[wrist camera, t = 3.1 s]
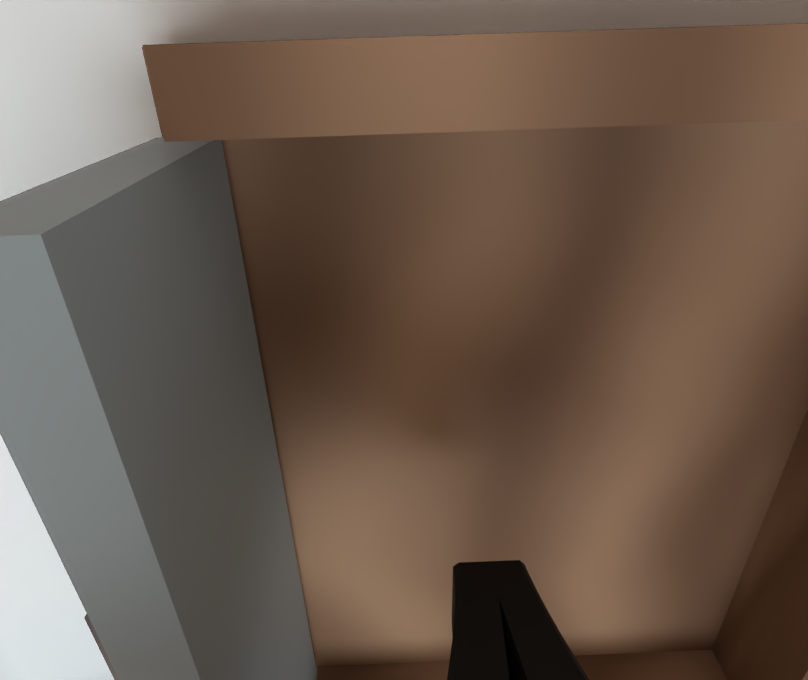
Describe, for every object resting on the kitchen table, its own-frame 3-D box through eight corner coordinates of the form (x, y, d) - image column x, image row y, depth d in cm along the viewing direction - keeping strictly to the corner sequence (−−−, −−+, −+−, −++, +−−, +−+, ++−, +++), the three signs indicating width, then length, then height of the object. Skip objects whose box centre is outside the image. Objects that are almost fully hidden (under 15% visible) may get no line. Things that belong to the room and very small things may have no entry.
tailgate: (220, 136, 10) (40, 233, 5) (316, 670, 18) (287, 922, 13) (113, 139, 10) (-184, 242, 5) (257, 672, 18) (203, 926, 13)
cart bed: (952, 21, 11) (1261, 8, 7) (714, 628, 21) (791, 766, 17) (171, 46, 11) (49, 47, 7) (294, 646, 21) (272, 789, 17)
